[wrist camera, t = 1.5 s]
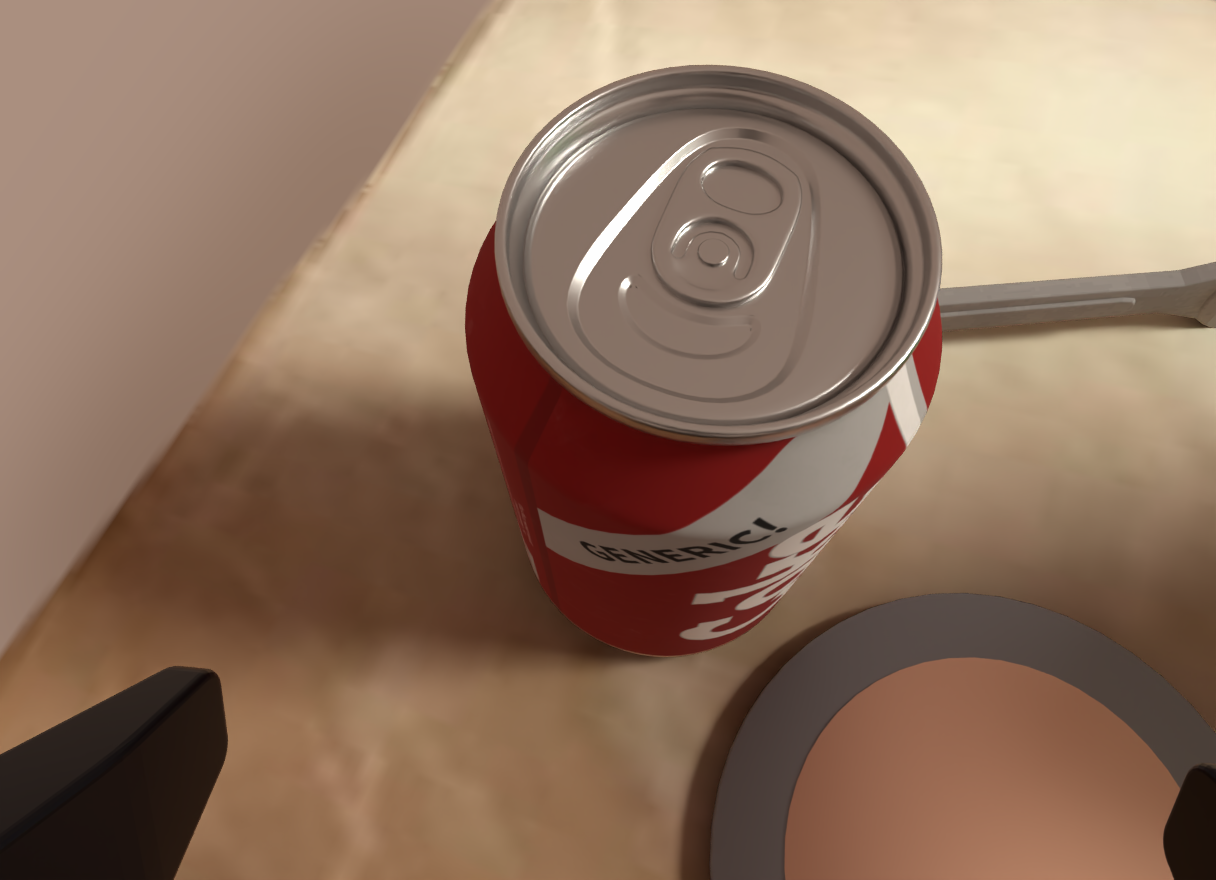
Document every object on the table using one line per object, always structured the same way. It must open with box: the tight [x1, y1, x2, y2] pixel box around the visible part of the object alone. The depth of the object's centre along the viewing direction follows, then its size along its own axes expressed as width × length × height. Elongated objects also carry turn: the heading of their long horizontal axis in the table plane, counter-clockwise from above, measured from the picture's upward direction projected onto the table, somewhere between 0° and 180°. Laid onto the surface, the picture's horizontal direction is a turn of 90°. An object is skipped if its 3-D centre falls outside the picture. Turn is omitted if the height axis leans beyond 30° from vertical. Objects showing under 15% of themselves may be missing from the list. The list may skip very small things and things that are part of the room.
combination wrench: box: [937, 262, 1216, 332], centre depth 22 cm, size 4×1×20 cm
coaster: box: [709, 593, 1216, 880], centre depth 18 cm, size 12×12×1 cm
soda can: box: [465, 65, 942, 657], centre depth 16 cm, size 7×7×12 cm
